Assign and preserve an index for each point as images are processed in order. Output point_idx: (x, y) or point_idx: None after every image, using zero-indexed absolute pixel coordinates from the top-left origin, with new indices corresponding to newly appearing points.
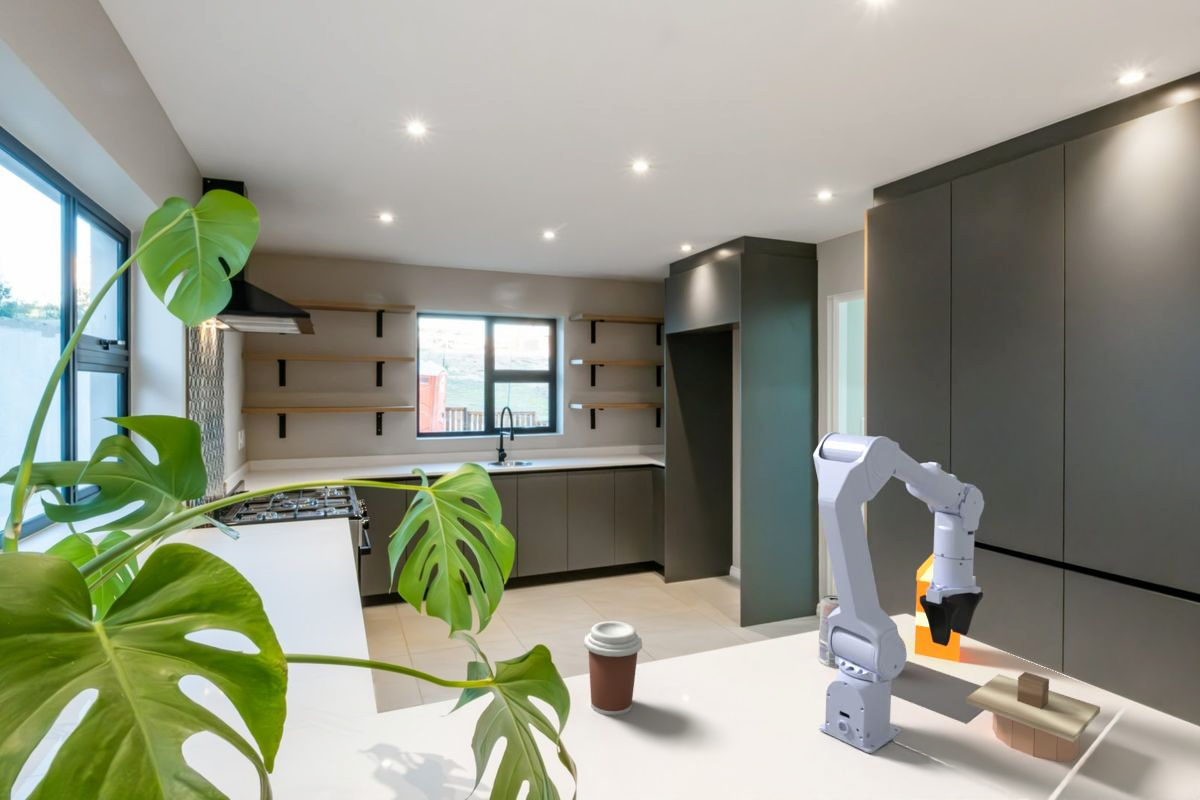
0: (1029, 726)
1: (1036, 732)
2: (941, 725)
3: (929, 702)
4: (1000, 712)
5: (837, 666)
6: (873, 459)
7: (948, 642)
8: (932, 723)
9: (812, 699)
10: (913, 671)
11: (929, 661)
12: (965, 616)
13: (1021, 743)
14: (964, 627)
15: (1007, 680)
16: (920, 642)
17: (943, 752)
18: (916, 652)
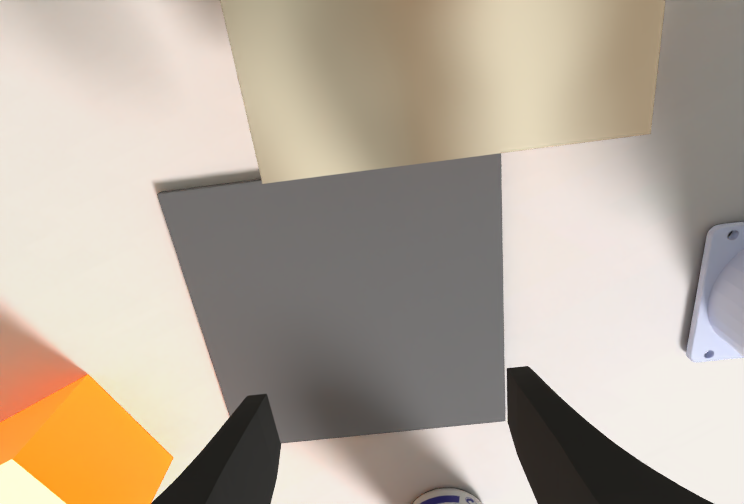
0: None
1: None
2: (557, 191)
3: (457, 280)
4: None
5: (475, 502)
6: None
7: (515, 375)
8: (567, 212)
9: (691, 433)
10: (293, 405)
11: (164, 421)
12: (231, 489)
13: None
14: (257, 430)
15: (294, 128)
16: (142, 487)
17: (734, 97)
18: (165, 463)
